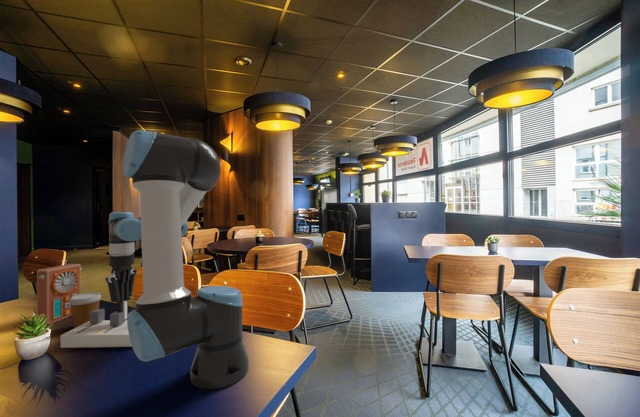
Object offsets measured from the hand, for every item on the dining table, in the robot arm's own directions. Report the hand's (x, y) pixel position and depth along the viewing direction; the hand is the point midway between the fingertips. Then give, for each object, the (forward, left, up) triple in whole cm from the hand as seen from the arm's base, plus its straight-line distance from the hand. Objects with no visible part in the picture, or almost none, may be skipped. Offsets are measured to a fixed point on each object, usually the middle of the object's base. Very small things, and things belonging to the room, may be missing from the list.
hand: (122, 319), depth 99 cm
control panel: (+15, +36, -6) cm, 40 cm away
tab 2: (-2, 0, -1) cm, 2 cm away
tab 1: (0, +9, -1) cm, 9 cm away
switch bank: (-4, 0, -5) cm, 6 cm away
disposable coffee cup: (+6, +18, -6) cm, 20 cm away
